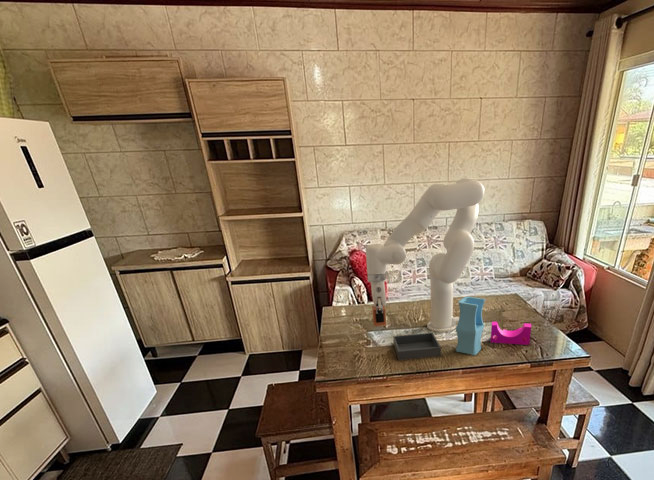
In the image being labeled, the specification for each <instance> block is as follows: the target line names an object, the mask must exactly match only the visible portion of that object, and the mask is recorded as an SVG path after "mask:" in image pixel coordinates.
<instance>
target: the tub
mask: <svg viewBox="0 0 654 480" xmlns="http://www.w3.org/2000/svg"><path fill="white" fill-rule="evenodd" d="M392 339H393V340H392V341H393V346H394V350H395V353H396V357H397V359H398V361H404V360H412V359H413V360H414V359H422V358H432V357H442V347H441V344H440V343H439V341H438V340H437V337H436V335H435V334H434V332H425V333H413V334H404V335H395V336H393V337H392Z"/></svg>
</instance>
